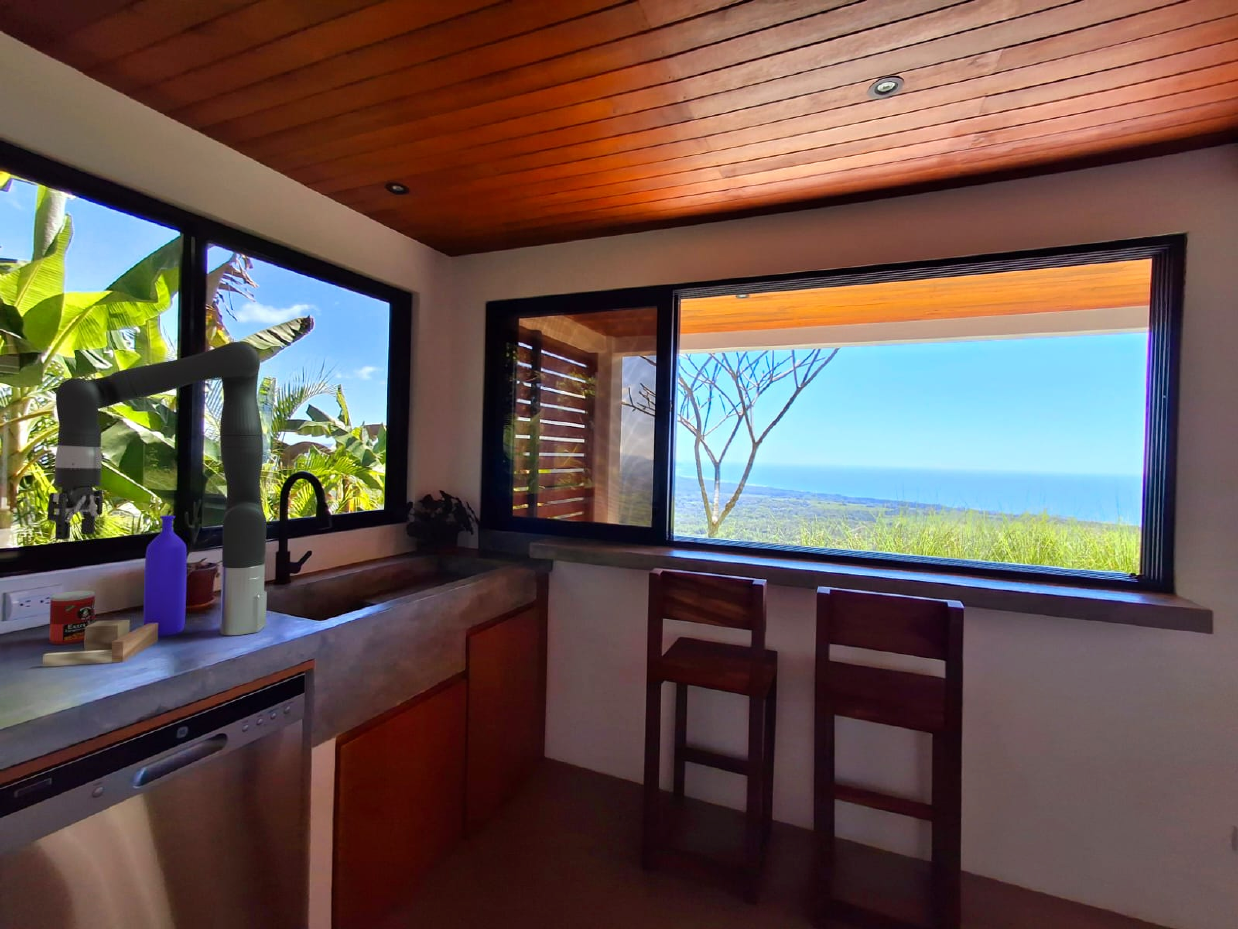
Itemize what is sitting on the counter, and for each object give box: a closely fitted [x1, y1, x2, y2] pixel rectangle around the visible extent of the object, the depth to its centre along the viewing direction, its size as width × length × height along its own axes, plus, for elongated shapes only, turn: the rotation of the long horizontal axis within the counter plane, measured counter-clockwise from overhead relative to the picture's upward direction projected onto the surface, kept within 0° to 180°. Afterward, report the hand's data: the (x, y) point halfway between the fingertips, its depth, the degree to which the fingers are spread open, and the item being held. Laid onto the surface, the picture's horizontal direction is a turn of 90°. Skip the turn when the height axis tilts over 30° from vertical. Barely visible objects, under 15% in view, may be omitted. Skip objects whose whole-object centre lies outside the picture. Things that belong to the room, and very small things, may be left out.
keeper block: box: [83, 619, 131, 651], centre depth 123 cm, size 6×4×7 cm
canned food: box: [49, 590, 96, 645], centre depth 131 cm, size 8×8×11 cm
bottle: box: [143, 515, 188, 638], centre depth 138 cm, size 8×8×30 cm
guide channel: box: [42, 623, 159, 668], centre depth 123 cm, size 14×14×4 cm
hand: (75, 536), depth 123 cm, fingers open, 8 cm apart
